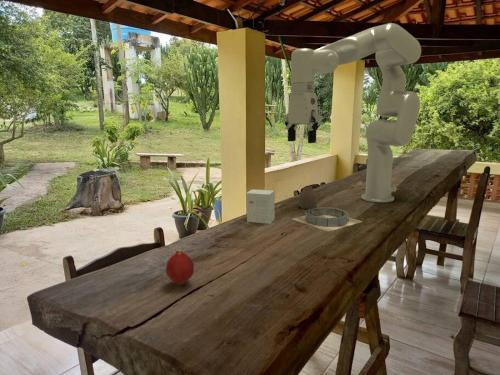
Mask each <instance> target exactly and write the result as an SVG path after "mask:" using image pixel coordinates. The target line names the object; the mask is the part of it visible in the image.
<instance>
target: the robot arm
mask: <svg viewBox="0 0 500 375" xmlns="http://www.w3.org/2000/svg"><path fill="white" fill-rule="evenodd" d="M372 54H375V62H376V63H377V65H378V67H379V69H380V71H381V73H382V83H381V88H380V91H379V96H378V99H377V105H376V112H377V115H379V116H380V117H384V118H396V119H377V120H373V121H372V122H370V123H368V125H367V127H366V129H365V130H366V131H365V136H366V137H365V139H366V144H367V159H366V160H367V161H366V176H365V178H366V180H365V193H362V194H361V196H360V197H361V199H362V200H363V201H366V202H367V201H368V202H372V203H391V202H394V200H395V197H394V196H393V195H392V193H395V192H397V188H396V187H392V177H393V176H392V174H393V161H394V155H393V150H392V148H391V146H394V147H404V146H406V145H408V144H409V143H410V142H411V141H412V138H413V135H414V132H415V129H416V124H417V122H418V118H419V117H418V116H419V113H420V108H421V101H420V100H421V99H420V97H419V95H418V93H416V92H414V91H410V90H408V91H407V90H406V84H407V76H406V74H405V72H404V70H403V69H402V67H401V66H407V65H412V64H415V63H416V62H417V61H418V60H419V59H420V57H421V55H422V47H421V44H420V42H419V40H418V39H416V38H415V37H414V36H413V35H412V34H411V33H409V32H408V31H407V30H406V29H405V28H403V27H402V26H401V25H399V24H397V23H394V22H393V23H392V22H388V23H384V24H381V25H377V26H373V27H370V28H367V29H364V30H362V31H359V32H357V33H354V34H352V35H349V36H347V37H344V38H342V39H339V40H336V41H335V42H332V43H328V44H326V45H323V46H321V47H320V48H316V49H313V48H306V47H304V48H296V49H294V50H293V51H292V52H291V58H290V59H291V60H290V61H291V62H290V69H291V70H290V73H291V74H290V77H291V78H290V95H289V100H288V107H287V108H288V109H287V111H288V112H287V113H286V114H285V115H284V116H283V121H284V125H285V126H286V130H287V142H295V141H297V140H296V136H297V133H296V132H297V129H296V127H297V125H301V126H302V125H303V126H304V125H306V126H307V127H308V131H307V144H316V143H317V131H318V130H319V127H320V126H321V123H322V120H323V116H322V115H320V114H319V107H318V99H317V93H316V92H315V89H316V85H315V77H316V76H317V75H326V74H331V73H332V72H334V71H336V70H337V68H338V66H340V65H346V64H350V63H353V62H357V61H359V60H361V59H363V58H366V57H368V56H370V55H372Z"/></svg>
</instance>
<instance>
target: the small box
mask: <svg viewBox="0 0 500 375" xmlns="http://www.w3.org/2000/svg"><path fill="white" fill-rule="evenodd" d="M245 195H246V225H251V223H258V224H269V225H271V224H272V223H273V222H274V221H275V219H276V218H275V212H276V211H275V190H267V189H250V190H249V191H247V192H246V193H245Z"/></svg>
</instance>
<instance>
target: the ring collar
mask: <svg viewBox="0 0 500 375" xmlns="http://www.w3.org/2000/svg"><path fill="white" fill-rule="evenodd" d="M304 214H305V215H304V216H305V220H306V221H307V222H308V223H310V224H313V225H316V226H324V227H338V226H342V225H346V224H347V223H348V221H349V218H350V212H348V211H346V210H345V209H342V208H337V207H331V206H329V207H326V206H322V207H320V206H318V207H317V206H316V208H312V209H308V210H307V209H306V211H305V212H304ZM318 215H329V216H336V217H337V218H324V217H317V216H318Z"/></svg>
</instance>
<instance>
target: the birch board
mask: <svg viewBox="0 0 500 375" xmlns="http://www.w3.org/2000/svg"><path fill="white" fill-rule="evenodd" d="M317 217H324V218H337V217H336V216H329V215H318V216H317ZM292 220H294V221H296V222H299V223H302V224H306V225H308V226H310V227H313V228H316V229H318V230H322V231H323V232H324V231H325V232H327V233H329V232H331V231H335V230H339V229H342V228H347V227H350V226H353V225H356V224H360V223H363V221H362V220H358V219H355V218H352V217H349V221H348V223H347V224H346V225H342V226H338V227H324V226H316V225H313V224H310V223H308V222H307V221H306V220H305V215H302V216H297V217H293V218H292Z"/></svg>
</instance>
